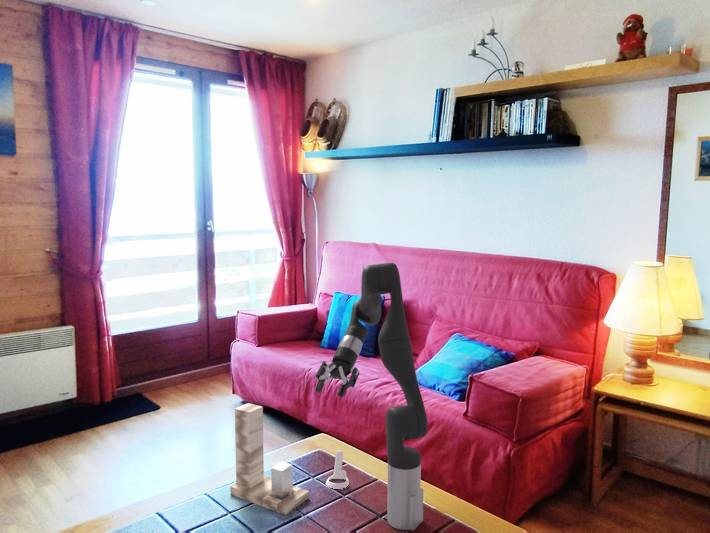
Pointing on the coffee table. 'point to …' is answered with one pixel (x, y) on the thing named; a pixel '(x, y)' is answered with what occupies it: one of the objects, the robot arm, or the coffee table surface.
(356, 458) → the coffee table surface
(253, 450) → the beam with square loop
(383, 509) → the coffee table surface
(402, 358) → the robot arm
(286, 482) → the smooth gray rectangular block
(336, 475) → the white vr controller
